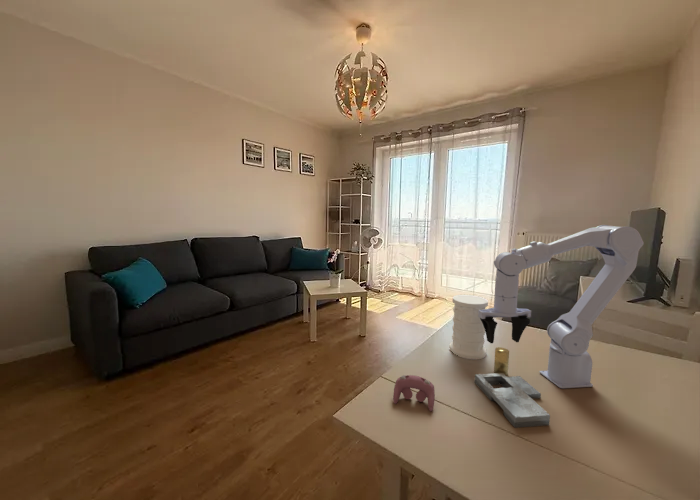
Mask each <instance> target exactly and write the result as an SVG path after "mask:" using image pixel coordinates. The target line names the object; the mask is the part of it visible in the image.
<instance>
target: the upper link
mask: <svg viewBox="0 0 700 500" xmlns="http://www.w3.org/2000/svg"><path fill="white" fill-rule="evenodd" d="M508 377H509V376H508V375H507V376H506V375H505V374H504V373H494V372H493V373H478V374H477V373H476V374H474V380H475V379H476V380H477V381H478V382H479V383H480V385H481V386H482V387H483V388H484V389H485V390H486V391H487V392H488V393H489V394H490V396H491V397H492V398H493V399H494V400H495V401H494V402H496V403H497V405H498V406H499V407H500V408H501V409H502V410H503V417H505V418H506V420H507V421H509V423H510V424H511V425H512V426H513V427H514V428H527V427H528V428H529V427H530V428H531V427H539V426H542V427H543V426H544V427H545V426H550V421H551V420H550V418H551V414H549V412H547V411H546V410H545V409H544V407H541V406H540V405H539V404H538V403H537V401H535V400H534V399H532V398H530V397H529V396H528V395H527V394H526V393H525V392H524V391H523V390H521V389H520V388H519V387H518V386H517V385H516V384H515V383H514V382H513V381H511V380H510V379H509V378H508ZM494 380H501V381H502V382H503V383H504V384H506V385H507V386H508V387H509V388H504V387H499V388H498V387H497V388H496V387H495V388H494V387H493V385H490V384H489V383H488V382H487V381H494Z"/></svg>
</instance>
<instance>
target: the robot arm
mask: <svg viewBox="0 0 700 500" xmlns="http://www.w3.org/2000/svg"><path fill="white" fill-rule="evenodd" d="M644 244H645V243H644V241H643V238H642V236H641V234H640V232H639V231H638V229H636V228H634V227H632V226H614V225H609V224H601V225H598V226H596V227H589V228H586V229H584V230H581V231H578V232H575V233H574V234H570V235H568V236H565V237H562V238H559V239H557V240H555V241H551V242H549V243H544V242H542V241H535V240H533V241H531V242H529V245H526V246H524V247H523V246H522V247H520V248H512V249H511V252H508V251H503V252H501V253H500V252H499V254H498V255H497V256H496V257H495V260H494V261H493V266H494V267H495V268H496V274H495V285H494V299H493V307H491V308H490V307H489V308H485V310H479V313H478V317H480V320H481V321H482V324H483V326H484V329H485V336H486V341H487V342H488V343H490V344H494V342H495V341H494V340H495V332H496V328H497V325H498V321H495V318H496V319H497V318H511V340H512V341H514V342H515V343H519V342H520V339H521V337H522V335H523V332H524V331H525V330H526V328H527V327H528V326H529V324H530V323H531V319H530V318H532V310H530V309H529V308H518V297H519V295H518V294H519V285H520V284H519V283H520V281H519V278H520V274H521V273H522V272H523V271H524V270H526V269H529V268H533V267H536V266H539V265H542V264H546V263H548V262H550V261H551V260H552V258H553V256H556V255H558V254H559V255H560V254H563V253H567V252H570V251H575V250H577V249H581V248H584V247H592V248H595V249H596V250H597V251H598V252H599V253H600V255H601V256H602V259H603V262H604V265H603V267H602V268H601V269H600V270H599V272H598V274H596V276H595V277H594V279H593V280H592V281H591V283H590V284H589V285H588V287H587V288H586V290H585V291H584V292H583V293H582V295H581V296H580V298H579V299H578V300H577V301H576V303H575V304H574V305H573V307H572V308H571V309H570V311H569V312H567V313H563V314H561V315H559V317H558V318H557V319H556V320H554V321H551V323H550V324H548V325H547V328H546V332H547V333H546V334H547V336H548V337H549V338H550V343H549V349H548V350H549V351H548V362H547V370H539V374H540V375H542V376H544V377H545V378H547V380H548V381H550V382H551V383H553V384H555V386H557V387H558V388H560V389H573V388H575V389H576V388H590V387H593V386H594V384H593V383H591V381H592V380H591V379H592V370H593V359H592V356H591V355H590V353H589V352H588V351H587V350H588V349H589V347H590V340H591V338H592V337H593V336H594V333H593V327H592V326H593V324H594V322H595V321H596V320H597V319H598V317H599V316H600V315H601V314H602V312H603V311H604V310H605V308H606V307H607V306H608V305H609V303H610V302H611V301H612V299H613V298H614V297H615V296H616V295H617V293H618V291H619V290H620V289H621V288H622V287H623V285H624V284H625V282H626V281H627V280H628V279H629V278H630V276H631V275H632V274H633V272H634V271H635V269H636V268H637V265H638V264H637V263H638V258H639V252H640V249H641V248H642V247H643V246H644Z"/></svg>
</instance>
